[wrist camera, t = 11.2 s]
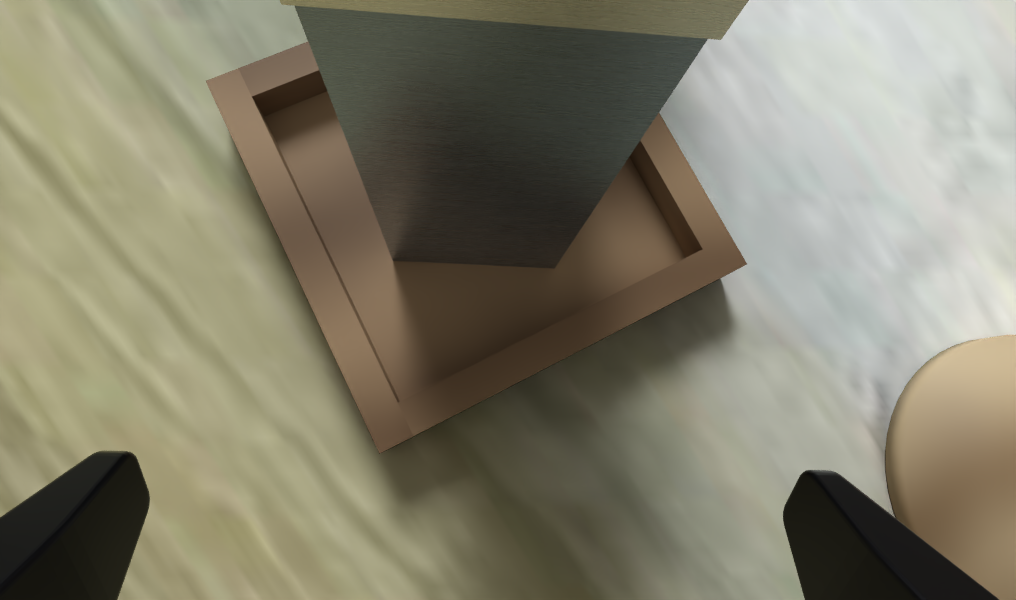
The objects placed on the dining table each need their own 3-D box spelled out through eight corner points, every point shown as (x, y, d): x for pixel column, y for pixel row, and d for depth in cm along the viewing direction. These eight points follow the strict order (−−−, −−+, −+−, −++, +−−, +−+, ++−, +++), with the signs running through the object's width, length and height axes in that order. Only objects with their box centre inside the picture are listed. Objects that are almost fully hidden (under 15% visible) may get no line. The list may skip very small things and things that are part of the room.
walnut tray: (721, 277, 20) (747, 264, 18) (386, 450, 18) (379, 453, 16) (552, -18, 22) (561, -56, 20) (228, 111, 20) (205, 81, 18)
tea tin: (557, 271, 19) (753, -6, 7) (389, 263, 18) (260, -49, 6) (559, 118, 20) (731, -371, 8) (399, 107, 19) (306, -429, 7)
